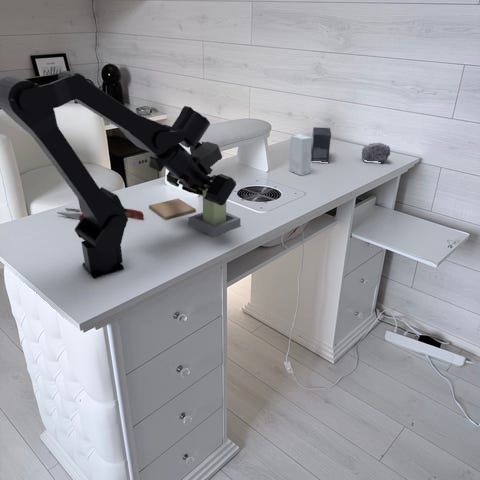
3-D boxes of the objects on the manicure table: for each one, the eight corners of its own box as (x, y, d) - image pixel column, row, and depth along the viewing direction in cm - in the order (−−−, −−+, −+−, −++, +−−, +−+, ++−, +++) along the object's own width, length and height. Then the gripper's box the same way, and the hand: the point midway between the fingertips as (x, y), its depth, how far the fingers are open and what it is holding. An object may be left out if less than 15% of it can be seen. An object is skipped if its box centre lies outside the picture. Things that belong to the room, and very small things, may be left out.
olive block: (213, 230, 106) (213, 191, 101) (203, 224, 108) (202, 186, 104) (226, 225, 108) (226, 187, 104) (215, 220, 111) (215, 182, 106)
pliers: (77, 206, 118) (75, 197, 116) (146, 219, 112) (145, 209, 110) (45, 224, 108) (43, 214, 106) (119, 240, 101) (117, 229, 100)
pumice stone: (364, 162, 166) (356, 161, 158) (369, 141, 164) (361, 139, 156) (392, 166, 161) (385, 165, 152) (397, 145, 159) (390, 143, 151)
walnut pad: (165, 219, 110) (165, 217, 110) (149, 208, 117) (148, 205, 116) (195, 211, 115) (195, 209, 115) (178, 201, 122) (178, 198, 121)
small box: (310, 154, 165) (312, 126, 160) (327, 155, 164) (330, 127, 160) (310, 162, 156) (313, 133, 151) (328, 164, 155) (332, 134, 150)
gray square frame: (213, 236, 103) (213, 229, 102) (188, 224, 108) (188, 217, 107) (240, 225, 108) (240, 218, 108) (215, 214, 114) (215, 207, 113)
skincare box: (310, 173, 145) (313, 137, 139) (299, 176, 143) (303, 139, 137) (297, 168, 149) (300, 133, 144) (287, 171, 147) (290, 135, 142)
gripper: (230, 141, 89) (264, 181, 101) (174, 125, 101) (210, 162, 113) (201, 187, 88) (239, 221, 100) (148, 165, 99) (187, 198, 112)
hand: (218, 198), depth 106 cm, fingers closed on olive block, 4 cm apart
